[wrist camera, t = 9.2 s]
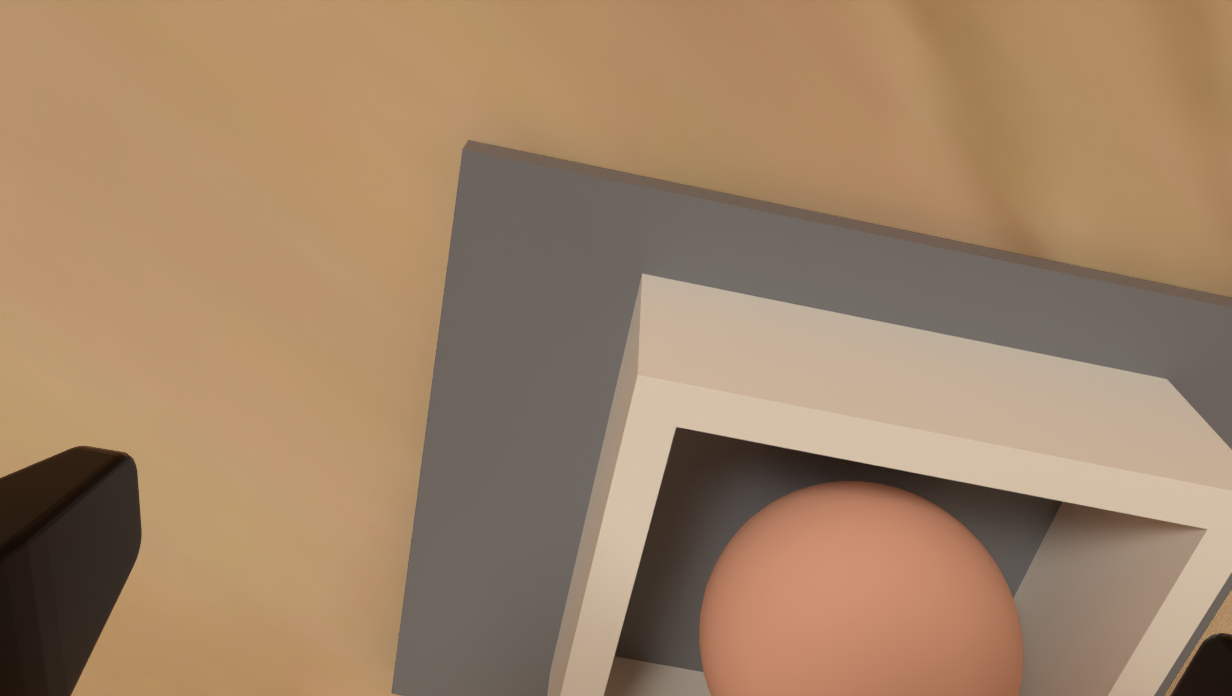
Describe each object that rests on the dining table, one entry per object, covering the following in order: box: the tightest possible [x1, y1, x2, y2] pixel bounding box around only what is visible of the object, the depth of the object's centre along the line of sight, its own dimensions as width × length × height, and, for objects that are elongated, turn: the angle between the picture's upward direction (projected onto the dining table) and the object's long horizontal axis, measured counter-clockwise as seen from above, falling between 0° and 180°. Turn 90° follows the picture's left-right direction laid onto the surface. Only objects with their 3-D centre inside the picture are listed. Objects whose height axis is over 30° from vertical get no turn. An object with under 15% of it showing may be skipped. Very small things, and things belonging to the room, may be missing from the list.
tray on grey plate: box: [392, 140, 1232, 696], centre depth 20 cm, size 18×14×5 cm
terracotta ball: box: [699, 481, 1023, 696], centre depth 19 cm, size 6×6×6 cm
